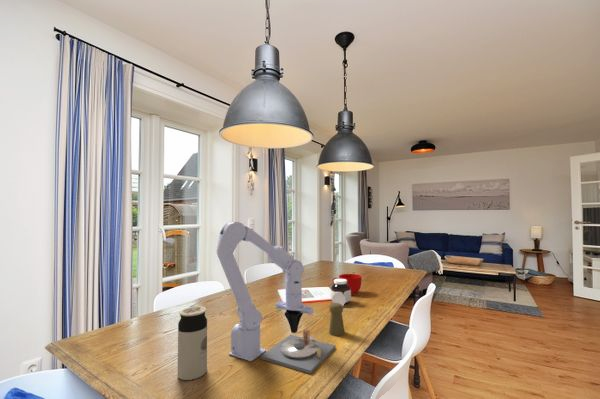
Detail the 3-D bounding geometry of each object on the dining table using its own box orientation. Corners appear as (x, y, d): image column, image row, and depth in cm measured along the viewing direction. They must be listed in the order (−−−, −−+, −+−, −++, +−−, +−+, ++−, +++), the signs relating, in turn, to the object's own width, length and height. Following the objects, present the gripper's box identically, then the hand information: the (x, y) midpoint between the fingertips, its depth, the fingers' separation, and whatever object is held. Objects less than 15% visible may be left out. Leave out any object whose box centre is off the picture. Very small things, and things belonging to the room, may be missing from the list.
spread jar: (346, 299, 151) (345, 277, 152) (356, 306, 140) (356, 282, 141) (325, 302, 147) (325, 279, 148) (334, 308, 136) (334, 284, 137)
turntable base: (260, 359, 89) (260, 346, 89) (290, 337, 105) (290, 327, 105) (310, 374, 80) (310, 360, 80) (335, 348, 96) (335, 336, 96)
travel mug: (171, 378, 79) (172, 313, 80) (191, 364, 87) (191, 304, 88) (193, 383, 76) (194, 316, 77) (212, 368, 84) (212, 307, 85)
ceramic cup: (332, 290, 170) (332, 273, 171) (361, 290, 168) (360, 274, 169) (332, 296, 158) (331, 278, 158) (362, 297, 155) (362, 278, 156)
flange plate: (273, 353, 90) (273, 339, 90) (297, 335, 103) (297, 323, 103) (306, 362, 84) (306, 347, 84) (327, 342, 97) (327, 329, 97)
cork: (334, 328, 112) (333, 300, 113) (347, 332, 109) (346, 303, 109) (325, 333, 108) (325, 304, 108) (339, 337, 104) (338, 307, 105)
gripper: (316, 292, 100) (317, 331, 99) (282, 288, 107) (283, 324, 106) (307, 297, 94) (308, 339, 93) (272, 292, 101) (272, 331, 100)
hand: (294, 331), depth 99 cm, fingers closed
